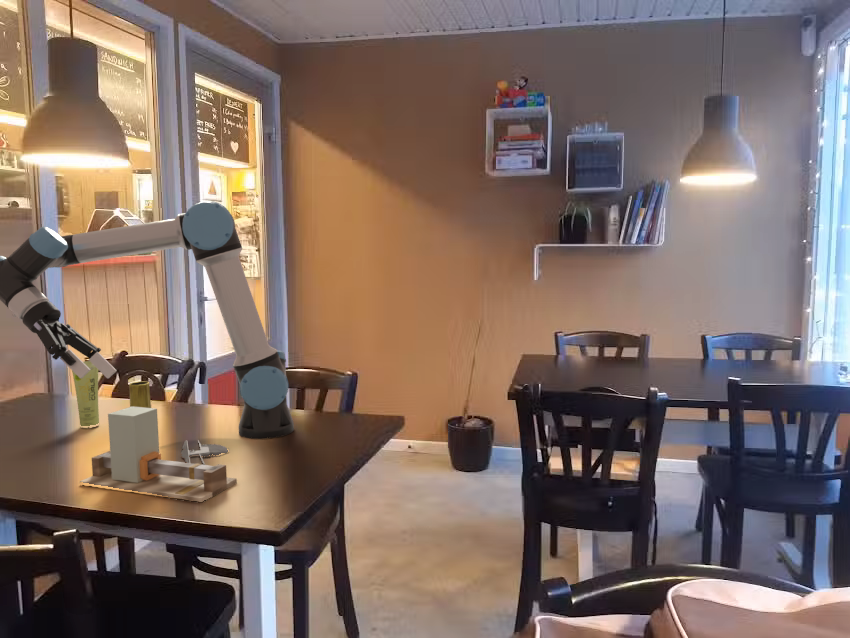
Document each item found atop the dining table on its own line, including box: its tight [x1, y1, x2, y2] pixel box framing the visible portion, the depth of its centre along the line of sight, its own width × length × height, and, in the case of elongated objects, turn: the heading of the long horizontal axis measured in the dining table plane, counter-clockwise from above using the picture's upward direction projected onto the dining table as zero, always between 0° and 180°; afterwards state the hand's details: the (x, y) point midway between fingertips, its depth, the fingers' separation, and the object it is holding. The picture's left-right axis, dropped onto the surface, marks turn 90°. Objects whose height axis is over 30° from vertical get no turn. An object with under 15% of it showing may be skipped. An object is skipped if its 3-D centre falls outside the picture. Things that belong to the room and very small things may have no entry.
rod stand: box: [79, 450, 238, 502], centre depth 144 cm, size 32×12×5 cm, turn 71°
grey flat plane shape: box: [180, 439, 228, 465], centre depth 165 cm, size 28×28×1 cm
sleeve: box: [107, 406, 162, 483], centre depth 145 cm, size 8×7×15 cm
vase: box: [128, 380, 152, 408], centre depth 184 cm, size 6×6×14 cm
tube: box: [71, 360, 100, 426], centre depth 190 cm, size 6×5×20 cm
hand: (99, 374), depth 153 cm, fingers open, 13 cm apart
